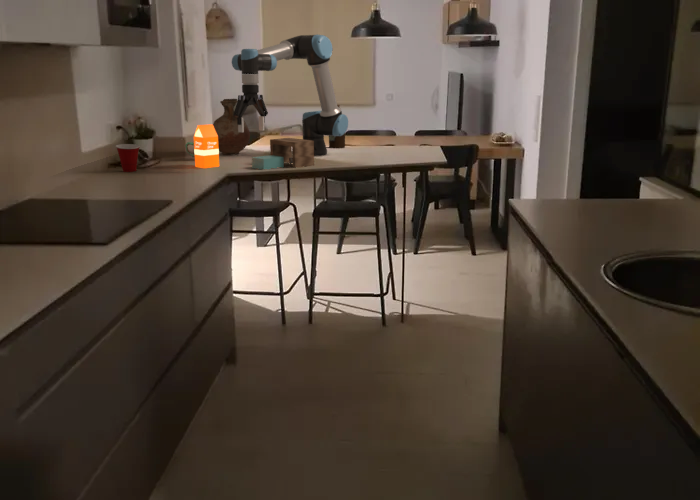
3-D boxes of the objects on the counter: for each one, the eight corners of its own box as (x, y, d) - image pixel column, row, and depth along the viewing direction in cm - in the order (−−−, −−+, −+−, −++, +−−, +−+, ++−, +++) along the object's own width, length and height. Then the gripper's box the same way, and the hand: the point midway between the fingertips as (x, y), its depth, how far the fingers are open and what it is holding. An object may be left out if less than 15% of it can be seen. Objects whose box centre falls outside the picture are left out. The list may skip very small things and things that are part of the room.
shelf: (289, 161, 349) (288, 137, 345) (314, 165, 335) (313, 140, 332) (270, 163, 340) (269, 139, 337) (295, 167, 327) (294, 142, 324)
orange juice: (195, 166, 330) (192, 124, 325) (210, 164, 337) (207, 123, 331) (204, 168, 325) (202, 125, 320) (219, 166, 331) (217, 124, 326)
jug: (241, 150, 392) (239, 97, 384) (257, 155, 374) (255, 98, 366) (205, 153, 381) (202, 98, 373) (219, 157, 363) (216, 99, 355)
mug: (210, 158, 361) (209, 139, 358) (217, 160, 352) (216, 140, 350) (183, 160, 353) (182, 140, 351) (189, 162, 345) (188, 142, 343)
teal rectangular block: (263, 169, 321) (263, 159, 319) (252, 167, 327) (251, 157, 326) (283, 167, 329) (283, 156, 327) (272, 165, 335) (271, 155, 334)
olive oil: (339, 146, 416) (339, 104, 409) (349, 147, 408) (349, 104, 401) (324, 147, 410) (324, 104, 403) (334, 148, 402) (334, 105, 395)
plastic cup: (128, 173, 309) (125, 146, 306) (112, 171, 315) (110, 145, 312) (147, 170, 318) (145, 144, 315) (131, 168, 324) (129, 143, 320)
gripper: (263, 83, 324) (264, 129, 329) (224, 84, 304) (226, 132, 309) (274, 84, 319) (275, 130, 325) (236, 84, 300) (238, 133, 305)
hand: (251, 131), depth 317 cm, fingers open, 13 cm apart
